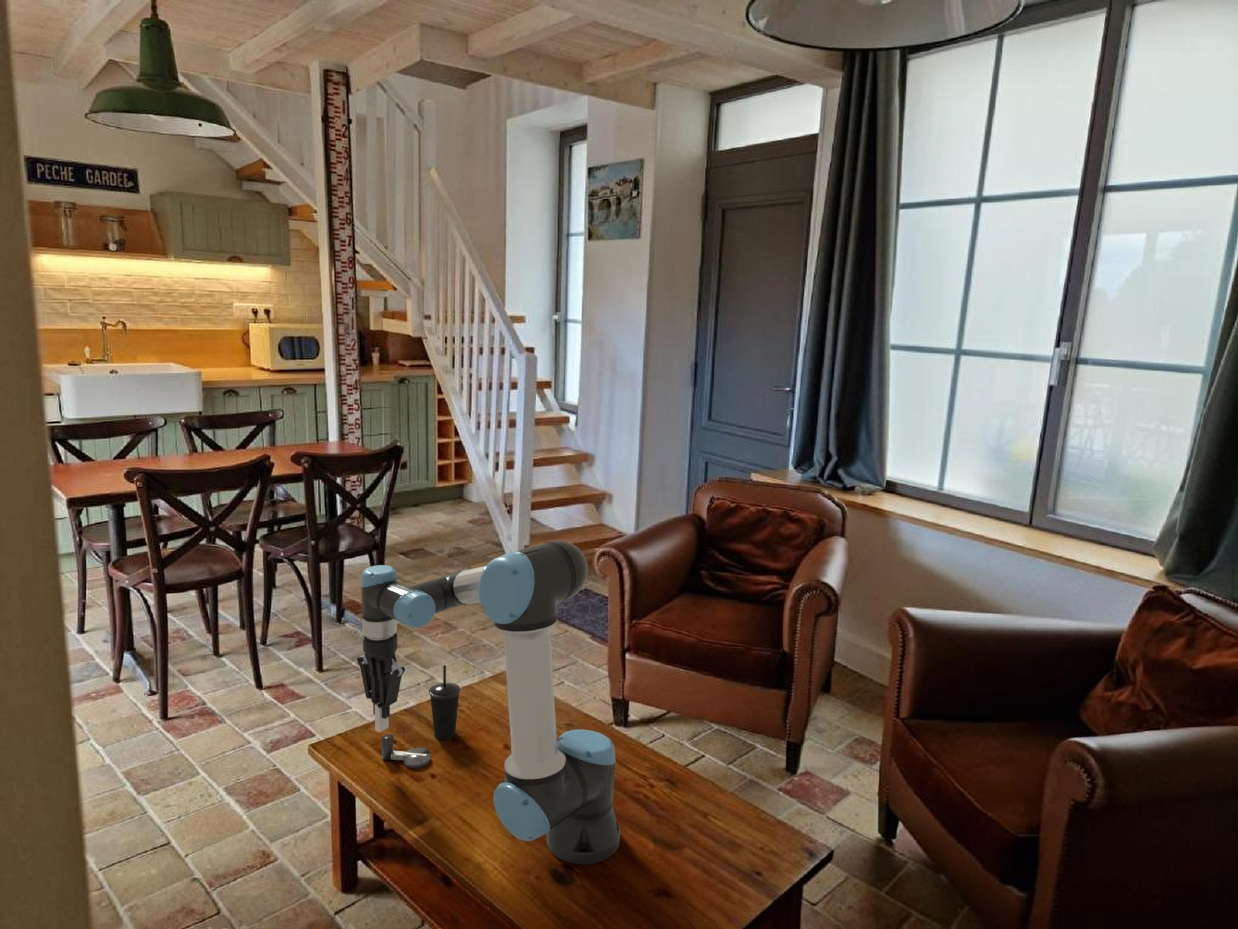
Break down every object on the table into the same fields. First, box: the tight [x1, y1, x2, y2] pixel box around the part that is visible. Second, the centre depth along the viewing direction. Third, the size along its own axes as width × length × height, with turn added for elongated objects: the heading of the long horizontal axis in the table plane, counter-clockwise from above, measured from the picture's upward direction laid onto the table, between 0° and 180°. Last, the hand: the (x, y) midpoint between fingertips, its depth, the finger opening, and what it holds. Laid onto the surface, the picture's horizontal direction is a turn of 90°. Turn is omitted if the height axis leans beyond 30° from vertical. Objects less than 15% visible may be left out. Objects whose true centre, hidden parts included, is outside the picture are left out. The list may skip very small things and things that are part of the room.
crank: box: [381, 733, 431, 769], centre depth 187 cm, size 11×6×6 cm, turn 86°
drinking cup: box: [428, 664, 461, 741], centre depth 197 cm, size 8×8×20 cm
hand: (381, 728), depth 183 cm, fingers closed
